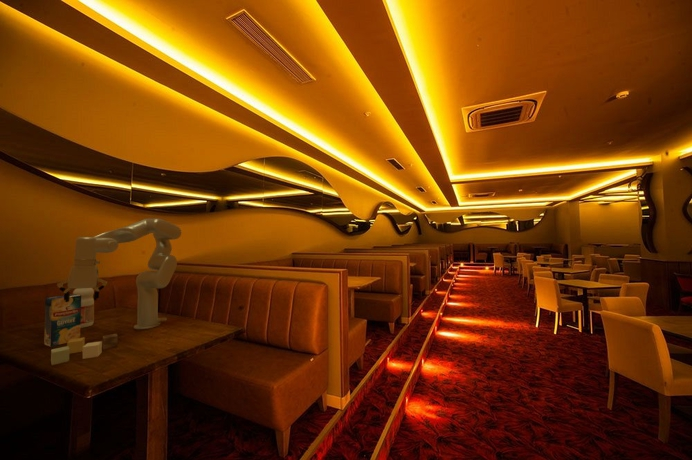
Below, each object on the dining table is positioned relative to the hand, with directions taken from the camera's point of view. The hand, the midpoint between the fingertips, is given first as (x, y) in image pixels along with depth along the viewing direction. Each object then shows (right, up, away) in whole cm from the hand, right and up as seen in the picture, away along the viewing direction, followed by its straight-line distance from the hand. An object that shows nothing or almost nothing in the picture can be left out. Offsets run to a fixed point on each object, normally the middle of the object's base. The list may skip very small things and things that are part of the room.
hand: (81, 300), depth 130 cm
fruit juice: (-30, -23, +33) cm, 50 cm away
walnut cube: (+11, -22, +2) cm, 25 cm away
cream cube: (+12, -22, -8) cm, 26 cm away
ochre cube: (0, -22, -3) cm, 22 cm away
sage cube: (+4, -22, -14) cm, 26 cm away
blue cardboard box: (-17, -22, +8) cm, 29 cm away
